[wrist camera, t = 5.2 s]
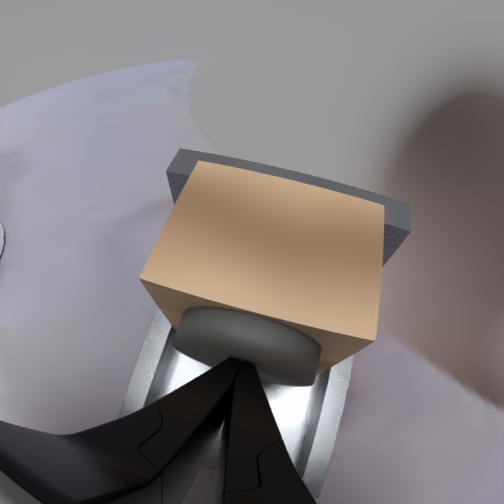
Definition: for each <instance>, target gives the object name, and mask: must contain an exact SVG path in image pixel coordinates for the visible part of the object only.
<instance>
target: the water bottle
mask: <svg viewBox="0 0 504 504" xmlns="http://www.w3.org/2000/svg"><path fill="white" fill-rule="evenodd" d="M3 237H4V230H3V227H2V225H1V224H0V255H1V253H2V250H3V245H4V238H3Z"/></svg>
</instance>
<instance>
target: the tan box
mask: <svg viewBox="0 0 504 504" xmlns="http://www.w3.org/2000/svg"><path fill="white" fill-rule="evenodd" d="M383 245H384V205H381V204H378V203H375V202H371V201H368V200H364V199H361V198H357V197H354V196H350V195H347V194H343V193H340V192H336V191H332V190H328V189H325V188H321V187H317V186H313V185H309V184H305V183H301V182H297V181H293V180H289V179H285V178H281V177H276V176H272V175H268V174H263V173H259V172H254V171H249V170H245V169H240V168H235V167H230V166H225V165H220V164H215V163H210V162H204V161H198V162H197V164H196V166H195V168H194V170H193V171H192V173H191V175H190V177H189V179H188V180H187V182H186V184H185V186H184V188H183V190H182V192H181V193H180V195H179V197H178V199H177V201H176V203H175V205H174V207H173V209H172V211H171V213H170V215H169V217H168V219H167V221H166V223H165V225H164V227H163V229H162V231H161V233H160V235H159V237H158V239H157V241H156V243H155V245H154V247H153V249H152V251H151V253H150V255H149V258H148V260H147V262H146V264H145V266H144V268H143V271H142V273H141V275H140V277H139V279H140V280H141V282H142V283H143V285H144V286H145V288H146V289H147V291H148V292H149V294H150V295H151V297H152V298H153V300H154V301H155V303H156V304H157V306H158V307H159V308H160V310H161V311H162V313H163V314H164V316H165V317H166V318H167V320H168V321H169V323H170V324H171V325H172V327H173V328H174V330H175V331H176V335H175V337H174V340H173V343H172V346H173V347H174V348H175V349H176V350H177V351H179V352H180V353H182V354H184V355H186V356H187V357H189V358H191V359H194V360H196V361H198V362H200V363H203V364H205V365H208V366H210V367H214V366H216V365H217V364H219V363H221V362H222V361H224V360H225V359H227V358H232V359H235V360H239V361H241V363H242V362H246V363H250V364H254V365H255V366H256V368H257V371H258V374H259V377H260V379H261V382H266V383H271V384H277V385H284V386H293V387H308V386H312V385H314V382H315V378H316V375H318V374H320V373H322V372H324V371H325V370H327V369H329V368H331V367H333V366H334V365H336V364H338V363H340V362H341V361H343V360H345V359H346V358H348V357H350V356H351V355H353V354H355V353H356V352H358V351H360V350H361V349H363V348H365V347H366V346H368V345H369V344H371V343H373V342H374V341H375V338H376V330H377V322H378V313H379V303H380V291H381V279H382V265H383Z"/></svg>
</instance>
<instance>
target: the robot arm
mask: <svg viewBox="0 0 504 504" xmlns="http://www.w3.org/2000/svg"><path fill="white" fill-rule="evenodd" d="M223 422H224V423H223ZM222 425H223V427H222ZM221 427H222V432H221V437H220V443H219V449H218V454H217V460H216V466H215V472H214V477H213V483H212V489H211V495H210V501H209V504H317V503H316V501H315V499H314V498H313V496H312V495H311V493H310V491H309V490H308V488H307V486H306V485H305V483H304V482H303V480H302V478H301V477H300V475H299V473H298V471H297V469H296V468H295V466H294V464H293V462H292V460H291V457H290V455H289V453H288V451H287V448H286V446H285V443H284V440H283V439H282V436H281V433H280V430H279V428H278V425H277V422H276V420H275V417H274V415H273V412H272V409H271V407H270V404H269V401H268V398H267V396H266V393H265V390H264V388H263V385H262V382H261V379H260V377H259V374H258V371H257V368H256V366H255V365H254V364H250V363H246V362H242V363H241V361H239V360H235V359H232V358H227V359H225V360H224V361H222V362H221V363H219V364H217V365H216V366H214V367H212V368H211V369H209V370H208V371H206V372H204V373H203V374H201V375H199V376H198V377H196V378H194V379H193V380H191V381H189V382H188V383H186V384H184V385H182V386H181V387H179V388H177V389H176V390H174V391H172V392H170V393H169V394H167V395H165V396H163V397H161V398H160V399H158V400H156V402H152V403H151V404H149V405H147V406H145V407H143V408H141V409H139V410H137V411H135V412H133V413H131V414H128V415H126V416H123V417H121V418H118V419H116V420H113V421H110V422H108V423H105V424H102V425H99V426H96V427H93V428H90V429H87V430H84V431H81V432H77V433H74V434H68V435H55V434H50V433H45V432H41V431H37V430H32V429H28V428H25V427H21V426H17V425H14V424H10V423H7V422H3V421H0V504H181V503H182V501H183V499H184V498H185V496H186V494H187V492H188V490H189V489H190V487H191V485H192V483H193V481H194V479H195V477H196V476H197V474H198V472H199V470H200V468H201V466H202V464H203V463H204V461H205V459H206V457H207V455H208V453H209V451H210V449H211V447H212V445H213V443H214V441H215V440H216V438H217V436H218V434H219V432H220V429H221Z"/></svg>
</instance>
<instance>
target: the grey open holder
mask: <svg viewBox="0 0 504 504" xmlns="http://www.w3.org/2000/svg"><path fill="white" fill-rule="evenodd" d="M198 161H204V162H210V163H215V164H220V165H225V166H230V167H235V168H240V169H245V170H249V171H254V172H259V173H263V174H268V175H272V176H276V177H281V178H285V179H289V180H293V181H297V182H301V183H305V184H309V185H313V186H317V187H321V188H325V189H328V190H332V191H336V192H340V193H343V194H347V195H350V196H354V197H357V198H361V199H364V200H368V201H371V202H375V203H378V204H381V205H384V245H383V265H382V267H383V266H384V265H385V263H386V262H387V261H388V260H389V258H390V257H391V256H392V255H393V254H394V252H395V251H396V250H397V249H398V247H399V246H400V245H401V243H402V242H403V241H404V239H405V238H406V237H407V235H408V234H409V233H410V231H411V226H410V207H409V204H408V203H405V202H402V201H399V200H396V199H392V198H389V197H386V196H383V195H379V194H376V193H373V192H370V191H366V190H362V189H359V188H356V187H353V186H349V185H345V184H342V183H338V182H334V181H331V180H327V179H323V178H319V177H315V176H312V175H307V174H304V173H300V172H295V171H291V170H286V169H282V168H278V167H273V166H270V165H265V164H260V163H255V162H251V161H246V160H241V159H236V158H231V157H226V156H221V155H216V154H210V153H204V152H199V151H193V150H187V149H181V148H180V150H179V151H178V153H177V154H176V156H175V158H174V159H173V161H172V162H171V164H170V166H169V167H168V169H167V170H166V173H167V177H168V181H169V185H170V189H171V193H172V197H173V201H174V205H175V203H176V201H177V199H178V197H179V195H180V193H181V192H182V190H183V188H184V186H185V184H186V182H187V180H188V179H189V177H190V175H191V173H192V171H193V170H194V168H195V166H196V164H197V162H198ZM175 335H176V331H175V330H174V328H173V327H172V325H171V324H170V323H169V321H168V320H167V318H166V317H165V316H164V314H163V313H162V311H161V310H160V308H159V307H158V308H157V311H156V313H155V316H154V318H153V321H152V323H151V326H150V329H149V331H148V334H147V336H146V339H145V342H144V344H143V347H142V350H141V352H140V355H139V358H138V361H137V363H136V366H135V369H134V372H133V374H132V377H131V380H130V383H129V386H128V389H127V392H126V395H125V398H124V400H123V403H122V406H121V409H120V413H119V416H118V418H121V417H123V416H126V415H128V414H131V413H133V412H135V411H137V410H139V409H141V408H143V407H145V406H147V405H149V404H151V403H152V402H156V400H158V399H160V398H161V397H163V396H165V395H167V394H169V393H170V392H172V391H174V390H176V389H177V388H179V387H181V386H182V385H184V384H186V383H188V382H189V381H191V380H193V379H194V378H196V377H198V376H199V375H201V374H203V373H204V372H206V371H208V370H209V369H211V368H212V367H210V366H208V365H205V364H203V363H200V362H198V361H196V360H194V359H191V358H189V357H187V356H186V355H184V354H182V353H180V352H179V351H177V350H176V349H175V348H174V347H173V346H172V343H173V340H174V337H175ZM353 357H354V354H353V355H351V356H350V357H348V358H346V359H345V360H343V361H341V362H340V363H338V364H336V365H334V366H333V367H331V368H329V369H327V370H325V371H324V372H322V373H320V374H318V375H316V378H315V382H314V385H312V386H308V387H293V386H284V385H277V384H271V383H266V382H262V385H263V388H264V390H265V393H266V396H267V398H268V401H269V404H270V407H271V409H272V412H273V415H274V417H275V420H276V422H277V425H278V428H279V430H280V433H281V436H282V439H283V440H284V443H285V446H286V448H287V451H288V453H289V455H290V457H291V460H292V462H293V464H294V466H295V468H296V469H297V471H298V473H299V475H300V477H301V478H302V480H303V482H304V483H305V485H306V486H307V488H308V490H309V491H310V493H311V495H312V496H313V497H315V498H318V497H319V494H320V491H321V488H322V485H323V482H324V479H325V475H326V472H327V469H328V465H329V462H330V458H331V455H332V451H333V447H334V444H335V440H336V436H337V432H338V428H339V424H340V420H341V416H342V411H343V407H344V402H345V398H346V393H347V388H348V383H349V378H350V373H351V368H352V362H353ZM223 423H224V422H223ZM222 427H223V425H222ZM222 427H221V429H220V432H219V434H218V436H217V438H216V440H215V441H214V443H213V445H212V447H211V449H210V451H209V453H208V455H207V457H206V459H205V461H204V463H203V464H202V465H203V466H206V467H210V468H213V469H215V466H216V460H217V454H218V449H219V443H220V437H221V432H222Z"/></svg>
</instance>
